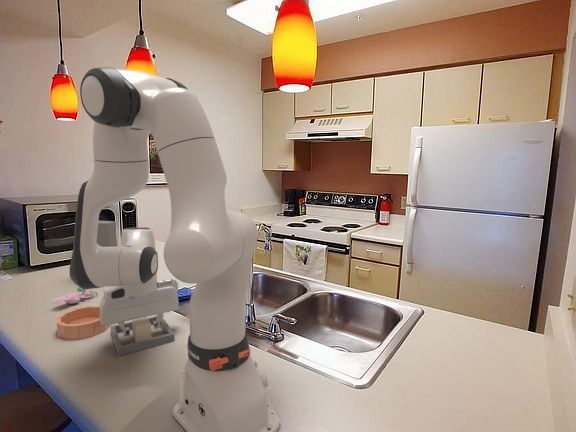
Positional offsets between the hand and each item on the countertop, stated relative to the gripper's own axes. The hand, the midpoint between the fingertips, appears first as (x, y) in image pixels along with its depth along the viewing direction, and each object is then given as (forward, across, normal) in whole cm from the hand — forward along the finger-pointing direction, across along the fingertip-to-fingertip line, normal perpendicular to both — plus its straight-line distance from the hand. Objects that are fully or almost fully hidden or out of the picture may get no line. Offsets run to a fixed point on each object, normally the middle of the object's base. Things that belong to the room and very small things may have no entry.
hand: (141, 331), depth 93 cm
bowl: (+2, +13, -14) cm, 19 cm away
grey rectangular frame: (+2, 0, 0) cm, 2 cm away
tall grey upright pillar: (+2, +5, -55) cm, 55 cm away
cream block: (+2, 0, 0) cm, 2 cm away
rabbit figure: (+2, +14, -36) cm, 39 cm away
